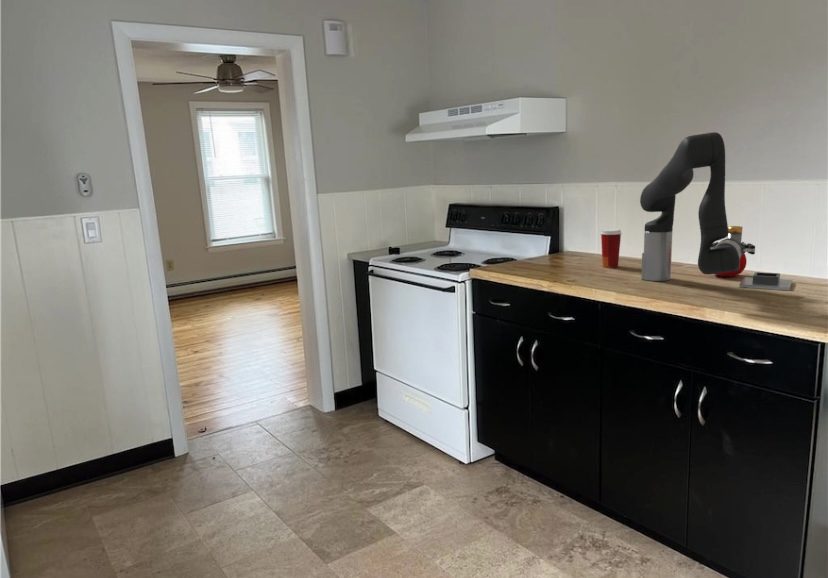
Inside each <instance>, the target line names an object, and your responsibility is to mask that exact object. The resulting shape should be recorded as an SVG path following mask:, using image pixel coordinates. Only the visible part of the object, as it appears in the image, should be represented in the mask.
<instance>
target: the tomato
mask: <svg viewBox="0 0 828 578" xmlns="http://www.w3.org/2000/svg"><path fill="white" fill-rule="evenodd" d="M746 266H747V256H746V254H745V253H744V254H742V256H741V257H740V265H739V270H738V271H732V272H726V273H717V274H714V275H715V276H718V277H723V278H724V277H730V278H731V277H735V276H739V275H740V274H741V273H742V272H744V270H745V269H746V268H747V267H746Z"/></svg>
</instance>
